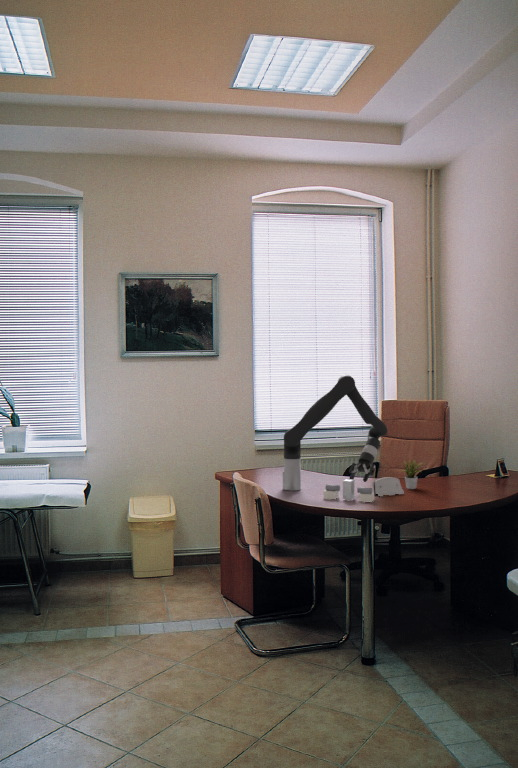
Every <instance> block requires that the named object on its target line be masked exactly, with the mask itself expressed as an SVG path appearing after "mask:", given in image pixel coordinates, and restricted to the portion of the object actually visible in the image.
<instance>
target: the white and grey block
mask: <svg viewBox="0 0 518 768" xmlns="http://www.w3.org/2000/svg"><path fill="white" fill-rule="evenodd" d="M356 493H358V497H359V498H358V500H359V501H365V502H372V501H373V500H374V501H375V495H374V493H373V487H366V486H358V487H357V489H356ZM374 501H373V502H374ZM365 502H364V503H365ZM373 502H372V503H373Z"/></svg>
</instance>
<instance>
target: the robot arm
mask: <svg viewBox="0 0 518 768" xmlns="http://www.w3.org/2000/svg"><path fill="white" fill-rule="evenodd" d="M345 396H347V397H348V399H349V400H350V401H351V403H352V404H353V406H354V408H355V409H356V411H357V412H358V414H359V416H360V418H361V419H362V420H363V422H364V423H365V424H366V425H371V427H370V428H369V430H368V434H367V440H366V443H365V445H364V447H363V449H362V450H361V452H360V456H359V458H358V462H357V463H356V462H352V464H351V466H350V468H349V470H348V473H349V474H350V475H349V477H348V478H349V480H355V476H356V475H357V474H359V473H364V476H363V478H362V480H363V482H364V483H367V482H368V479H369V477H370V476H374V474H375V471H376V468H377V466H376V465H375V464H374V462H375V459H376V457H377V453H378V451H379V448H380V444H381V442H380V438H382V437H384V436H386V435H387V434H388V427H387V424H385V422H383V420H382V419H381V418H379V417H378V416H377V415H376V413H375V412H374V411H373V409H372V407H371V406H370V405H369V403H368V402H367V401H366V400H365V399H364V397H363V396H362V394H361V393H360V391H359V390H358V388H357V386H356V381H355V378H353V377H352V376H351V375H349V374H344V375H341V376H340V377H339V378H338V379H337V383H336V384H335V385H334V386H333V387H332V388H331V389H330V391H328V392H327V393H326V394H324V395H323V396H322V397H320V398H319V399H318V400H317V401H316V402H314V404H312V405H311V407H309V409H308V410H307V411H306V412H305V414H304V415H303V416H302V418H301V419H300V420H299V421H298V422H297V423H296V424H295V425H294V426H293V427H292V428H290V429H287V430H286V431H285V432H284V434H283V471H282V490H285V491H292V492H293V491H300V490H301V487H302V484H301V482H302V481H301V479H302V477H301V476H302V474H301V473H302V472H301V469H302V468H301V465H302V464H301V463H302V461H301V459H302V458H301V456H302V454H301V450H302V449H301V448H302V447H301V443H302V442H301V441H302V440H303V438H304V437H305V436H306V435H307V434H308V433H309V431H311V430H312V429H313V428H315V427H316V426H317V425H318V424H319V423H321V421H322V420H324V419H325V417H327V416H328V415H329V413H330V412H331V411H332V410H334V408H335V406H337V404H338V403H339V402H340V401H341V399H343V398H344V397H345Z"/></svg>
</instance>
